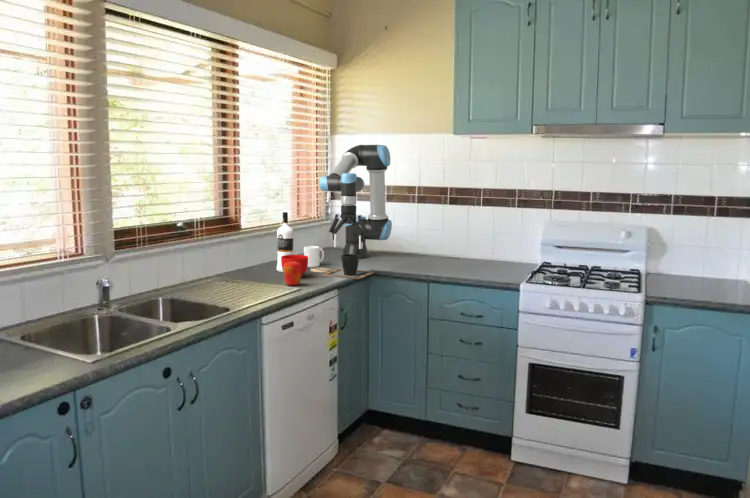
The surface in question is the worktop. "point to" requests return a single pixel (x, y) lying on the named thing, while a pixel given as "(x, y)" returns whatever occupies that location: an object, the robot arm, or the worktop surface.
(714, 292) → the worktop surface
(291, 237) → the vodka
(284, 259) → the ceramic cup
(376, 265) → the worktop surface
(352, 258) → the mug
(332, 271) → the brown wooden frame
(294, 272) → the apple
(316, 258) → the cup
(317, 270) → the coaster
